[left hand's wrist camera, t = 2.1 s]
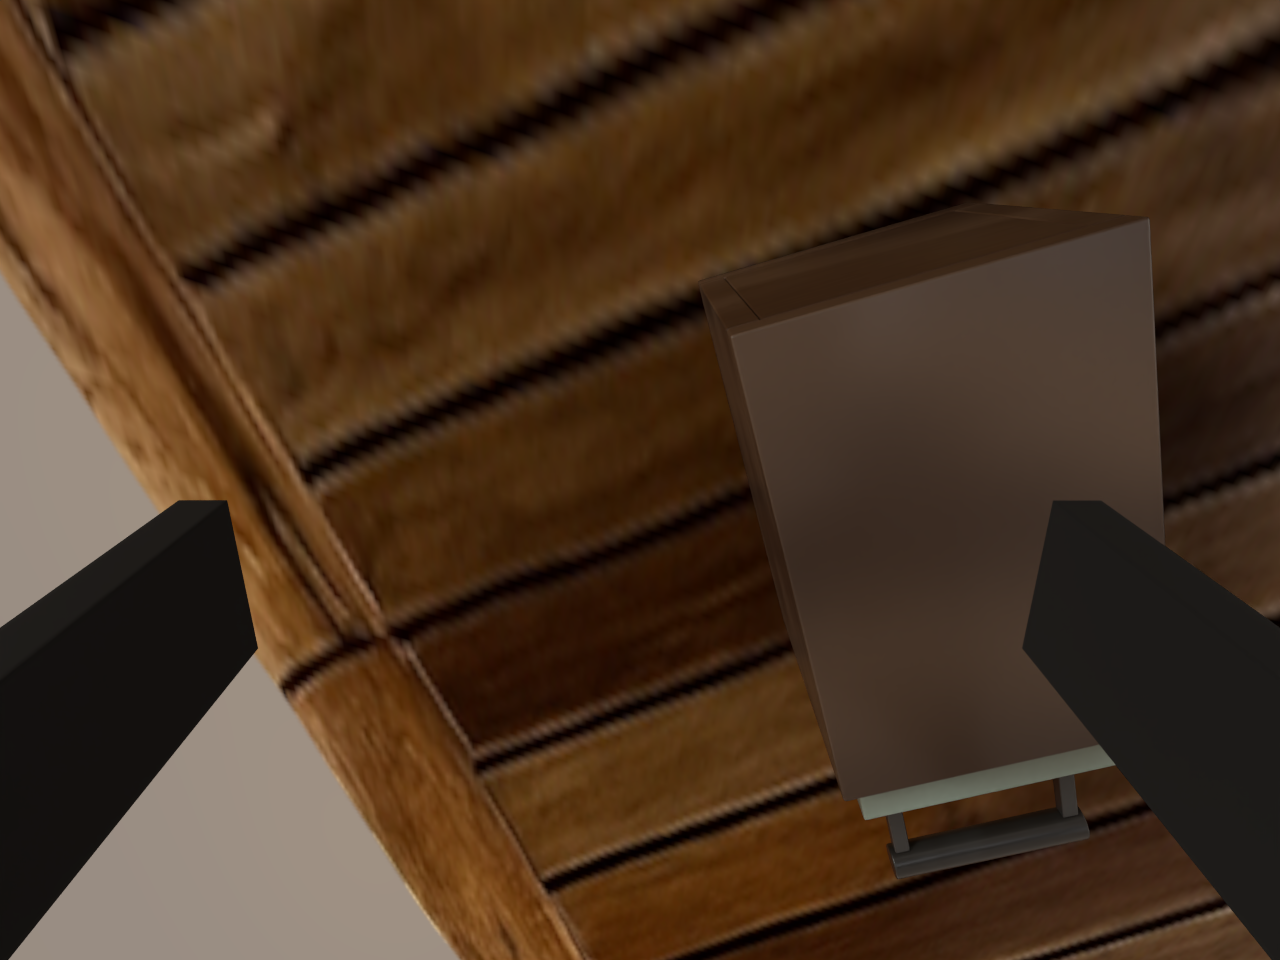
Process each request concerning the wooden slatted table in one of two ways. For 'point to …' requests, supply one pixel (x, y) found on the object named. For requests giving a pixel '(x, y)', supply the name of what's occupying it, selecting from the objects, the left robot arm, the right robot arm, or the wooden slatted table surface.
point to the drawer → (994, 835)
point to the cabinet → (938, 464)
